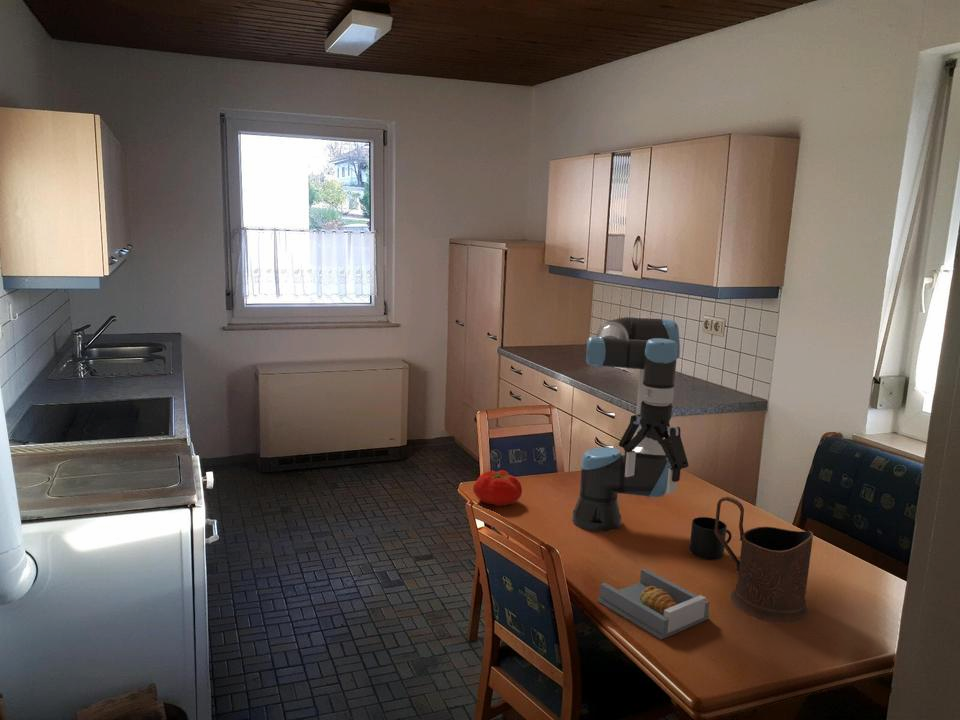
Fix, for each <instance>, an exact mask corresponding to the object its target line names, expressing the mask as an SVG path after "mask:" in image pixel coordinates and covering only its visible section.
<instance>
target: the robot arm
mask: <svg viewBox="0 0 960 720" xmlns="http://www.w3.org/2000/svg"><path fill="white" fill-rule="evenodd" d="M679 332H680V331H679V327H678V323H677V322H676V321H674V320H670V319H664V318H648V317H647V318H643V317H632V316H631V317H629V316H628V317H627V316H625V317H624V316H623V317H619V318H615V319H612V320H608V321H606V322H604V323H603V324H601V326H600V327H599V328H598V330H597V332H596V335H595V336H590V337H588V338H587V341H586V342H587V343H586V353H585V354H586V355H585V361H586V364H587V365H589V366H595V367H600V368H601V367H604V368H605V367H607V368H620V369H621V368H624V369H631V370H632V369H633V370H639V373H638V375H639V376H638V385H637V386H638V388H637V399H636V400H637V401H636V411H635V414H633V415H631V416H630V420H629V424H628V425H627V428H626V430H625V432H624V433H623V435H622V436H621V439H620V441H619V442H618V446H619V447H620V448H623V450H624V455H623V454H622V452H621V450H620V449H618V448H614V447H608V446H607V447H596V448H591V449H588V450H587V451H585V452H584V454H583V455H582V460H581V465H580V469H581V472H580V481H579V482H580V483H579V484H580V485H579V497H578V499H577V501H576V505H575V507H574V510H573V511H572V517H571V519H572V522H573V524H574V525H576V526H577V527H579V528H581V529H585V530H587V531H593V532H599V533H600V532H604V533H605V532H612V531H616V530H618V529H620V527H621V526H622V515H621V513H620V507H619V503H618V494H623V495H629V496H630V495H631V496H640V497H647V498H652V497H653V498H661V497H664V496H665V494H666V495H672V494H675V493H677V488H678V487H677V485H678V482H679V481H680V478H681V470H682V469H685V468H689V463H688V459H687V458H688V457H687V455H686V451H685V448H684V444H683V441H682V437H681V427H679V426H671V425H670V421H671V419H672V416H673V413H672V412H673V405H672V403H673V402H674V393H675V380H676V379H675V378H676V371H677V370H676V369H677V361H678V359H679V358H680V356H681V351H680V348H681V346H680V345H681V344H680V343H681V342H680V333H679Z"/></svg>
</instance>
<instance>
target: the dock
mask: <svg viewBox="0 0 960 720" xmlns="http://www.w3.org/2000/svg"><path fill="white" fill-rule="evenodd" d="M648 586H655V587H656V588H657V589H663V590H664V592H667V593H668V594H669V595H670V596H671V597H672V598H673V600H674V601H676V604H677V605H675V606H673V607H670V608H668V609H665V610H664V615H663V614H659V613H657V612H656V611H654V610H652V609H650V608H649V607H647V606H645V605H643V603H642V601H641V600H640V596H641V594H642V592H643V590H644V589H646V588H647V587H648ZM599 588H600V589H599V597H597V602H598V603H600V604H601V603H602V604H601V605H603V606H605V607H606V608H607V609H610V610H611V611H613V612H614V613H616V614H618V615H619V616H621V617H622V618H624V619H625V620H627V621H629V622H631V623H632V624H635V625H636V626H637V627H639V628H641V629H643V631H646V632H647V633H649V634H650V635H652V636H654V637H655V638H658V639H659V640H663V639H665V638H668V637H671V636H673V635H675V634H678V633H680V632H682V631H684V630H686V629H689V628H691V627H694V626H696V625H698V624H701V623H702V622H705V621H707V620H709V618H710V614H709V610H710V609H709V608H710V601H709V600H707V598H706V596H703V594H700V595H697V594H695V593H693V592H691V591H690V590H687V589H685V588H683V587H681V586H680V585H678V584H676V583H673V582H672V581H670V580H668V579H666V578H664V577H663V576H660V575H658V574H657V573H655V572H653V571H651V570H649V569H647V568H642V569H640V579H639V582H638V583H635V584H632V585H630V586H626V587H624V588H623V587H622V588H621V589H618V588H616V587H614V586H613V585H610V584H608V583H606V582H602V583H600V587H599Z"/></svg>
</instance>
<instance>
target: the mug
mask: <svg viewBox="0 0 960 720" xmlns="http://www.w3.org/2000/svg"><path fill="white" fill-rule="evenodd" d="M715 521H716V518H714V517H708V516H701V517H700V516H699V517H695V518H693V519H692V522H691V531H690V540H689V552H690V553H691V554H692V555H693V556H695V557H697V558H700V559H703V560H709V561H710V560H711V561H714V560H716V561H717V560H721V559H722V558H723V557H724V554H725V548H724V546H723V545H722V543H721V542H720V541H719V539H718V538H717V537H716V535H715V532H714V531H715ZM727 528H728V527H727V524H726V523H725V522H724V521H722V520H721V519H719V525H718V531H719V533H720V535H721V536H722V537H723V539H724V540H725V542H726V543H727V544H729V543H730V542H731V540H732V533H731V531H730V530H729V529H727ZM726 535H728V538H727V537H726ZM726 538H727V540H726Z"/></svg>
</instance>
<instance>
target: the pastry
mask: <svg viewBox="0 0 960 720" xmlns="http://www.w3.org/2000/svg"><path fill="white" fill-rule="evenodd" d="M640 600H641V601H642V603H643V605H645V606H647V607H649V608H650V609H652V610H654V611H656V612H657V613H659V614H663V615H664V610H665V609H668V608H670V607H673V606H675V605H677V604H676V601H674V600H673V598H672V597H671V596H670V595H669V594H668V593H667V592H664V590H663V589H657V588H656V587H655V586H648V587H647V588H646V589H644V590H643V592H642V594H641V596H640Z"/></svg>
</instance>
